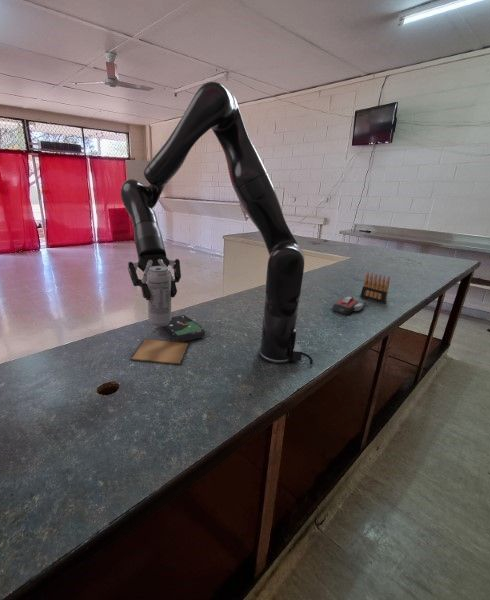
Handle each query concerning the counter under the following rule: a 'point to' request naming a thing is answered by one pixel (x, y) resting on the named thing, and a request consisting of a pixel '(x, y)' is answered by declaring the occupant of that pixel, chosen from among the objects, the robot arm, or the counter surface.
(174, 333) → the disk drive
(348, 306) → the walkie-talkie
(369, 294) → the ammunition clip
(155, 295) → the energy drink can
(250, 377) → the counter surface
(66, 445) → the counter surface
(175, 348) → the cork pad
